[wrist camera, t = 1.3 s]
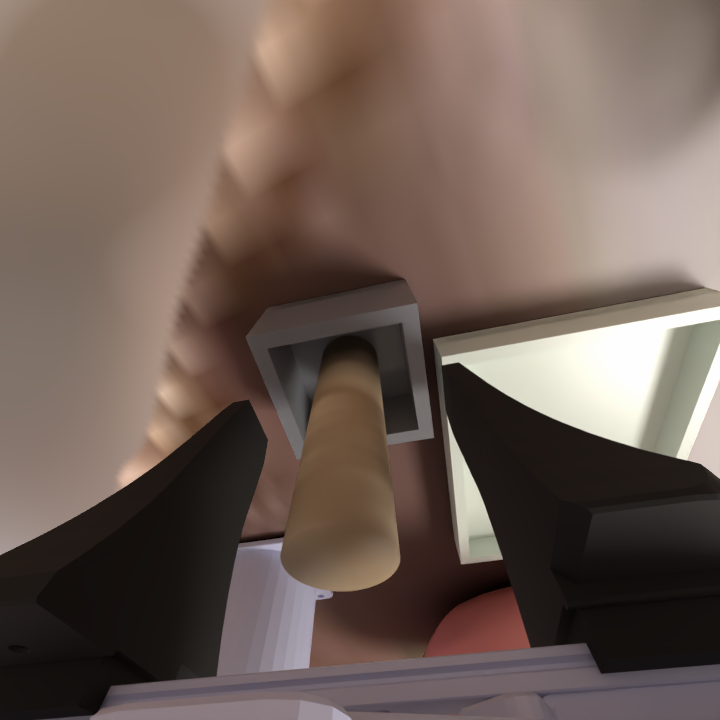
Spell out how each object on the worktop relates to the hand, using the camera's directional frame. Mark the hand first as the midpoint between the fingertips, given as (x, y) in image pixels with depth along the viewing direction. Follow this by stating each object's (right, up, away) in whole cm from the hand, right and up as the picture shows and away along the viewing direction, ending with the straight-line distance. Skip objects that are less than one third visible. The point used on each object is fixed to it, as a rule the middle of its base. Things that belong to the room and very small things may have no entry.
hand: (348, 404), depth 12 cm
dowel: (0, +2, +3) cm, 4 cm away
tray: (+11, -3, +7) cm, 14 cm away
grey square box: (0, +2, +4) cm, 4 cm away
